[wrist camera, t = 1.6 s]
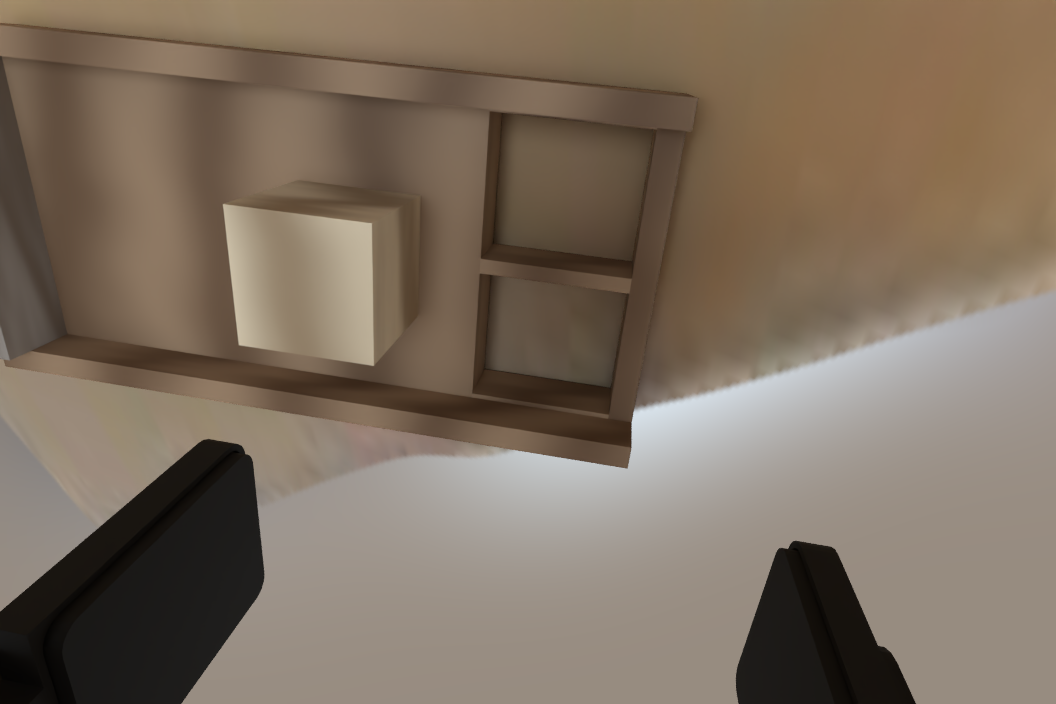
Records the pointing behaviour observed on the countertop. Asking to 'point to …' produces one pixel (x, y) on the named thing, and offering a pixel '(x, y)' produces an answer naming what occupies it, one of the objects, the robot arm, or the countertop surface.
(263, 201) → the beech block
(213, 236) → the wooden tray
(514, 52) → the countertop surface
